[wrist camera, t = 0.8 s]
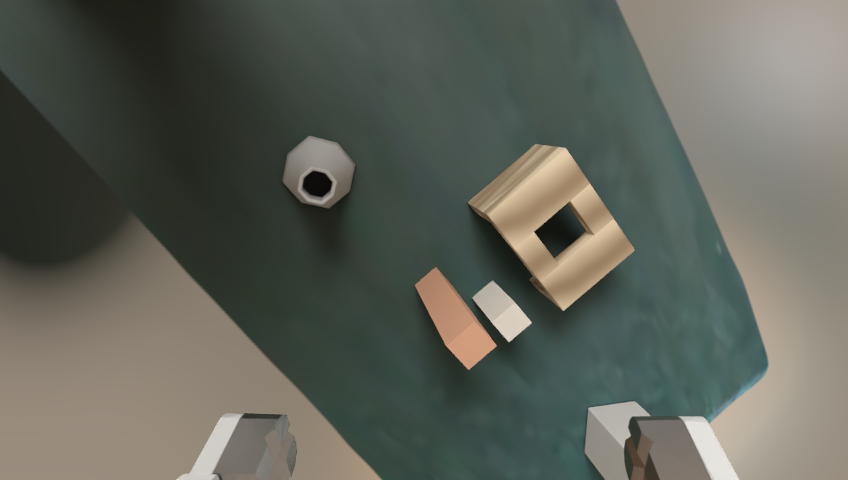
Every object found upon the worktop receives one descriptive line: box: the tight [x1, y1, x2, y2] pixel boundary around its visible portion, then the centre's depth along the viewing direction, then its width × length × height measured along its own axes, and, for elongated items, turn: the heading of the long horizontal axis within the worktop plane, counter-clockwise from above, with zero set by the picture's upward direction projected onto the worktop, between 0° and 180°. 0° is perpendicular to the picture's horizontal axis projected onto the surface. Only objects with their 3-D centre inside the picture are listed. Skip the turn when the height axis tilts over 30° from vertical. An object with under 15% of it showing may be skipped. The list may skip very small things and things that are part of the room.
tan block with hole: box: [468, 144, 634, 311], centre depth 51 cm, size 14×10×7 cm
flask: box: [282, 136, 356, 208], centre depth 44 cm, size 7×7×10 cm
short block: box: [472, 280, 532, 342], centre depth 53 cm, size 3×3×7 cm
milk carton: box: [585, 401, 650, 480], centre depth 55 cm, size 7×7×19 cm
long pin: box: [415, 267, 497, 370], centre depth 47 cm, size 3×3×15 cm
